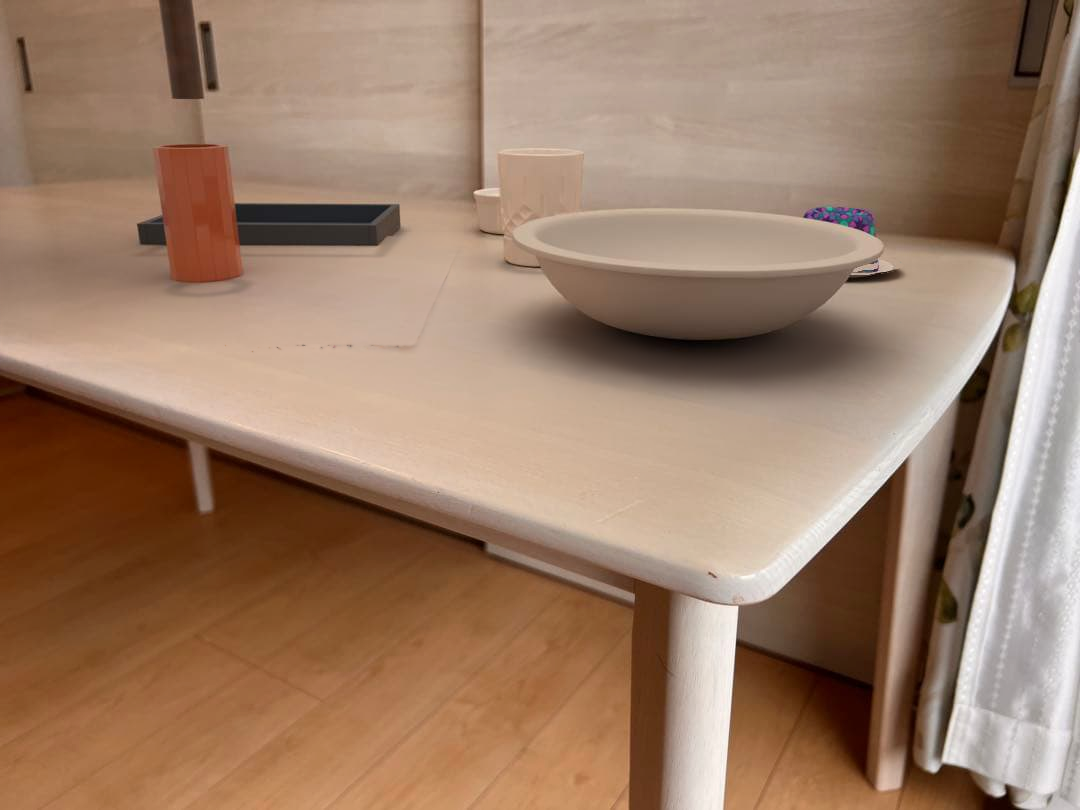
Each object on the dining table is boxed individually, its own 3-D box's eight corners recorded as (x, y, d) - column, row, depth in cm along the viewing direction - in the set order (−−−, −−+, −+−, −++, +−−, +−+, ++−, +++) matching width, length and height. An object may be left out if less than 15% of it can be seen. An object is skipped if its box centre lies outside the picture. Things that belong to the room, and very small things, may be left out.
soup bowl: (663, 415, 44) (670, 288, 42) (452, 313, 63) (449, 222, 61) (948, 345, 56) (966, 243, 53) (699, 277, 75) (704, 200, 72)
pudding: (741, 259, 83) (746, 204, 81) (846, 253, 86) (853, 200, 84) (815, 286, 72) (823, 223, 70) (932, 277, 76) (942, 217, 74)
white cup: (484, 264, 80) (483, 152, 76) (518, 250, 87) (517, 147, 83) (564, 271, 77) (566, 156, 73) (592, 256, 84) (595, 150, 80)
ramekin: (458, 228, 99) (457, 190, 97) (516, 221, 104) (516, 185, 103) (509, 238, 93) (509, 198, 91) (567, 230, 98) (568, 191, 97)
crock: (161, 289, 70) (140, 148, 66) (187, 274, 75) (169, 143, 71) (230, 289, 70) (213, 148, 66) (251, 274, 75) (237, 143, 71)
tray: (140, 250, 85) (136, 223, 84) (198, 225, 100) (195, 202, 99) (377, 251, 86) (376, 225, 85) (400, 226, 100) (399, 204, 99)
